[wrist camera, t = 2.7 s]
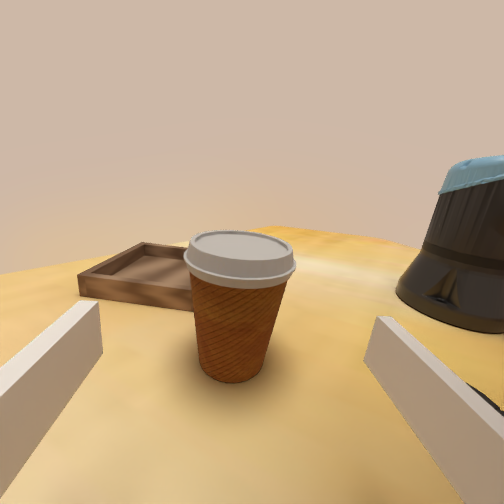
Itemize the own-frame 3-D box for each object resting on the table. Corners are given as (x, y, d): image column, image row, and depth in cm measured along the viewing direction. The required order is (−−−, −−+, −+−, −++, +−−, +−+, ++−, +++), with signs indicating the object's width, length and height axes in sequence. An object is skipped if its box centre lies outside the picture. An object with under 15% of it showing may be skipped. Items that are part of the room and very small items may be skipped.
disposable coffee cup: (165, 348, 25) (163, 233, 21) (239, 319, 31) (248, 226, 27) (218, 423, 18) (230, 272, 14) (299, 366, 24) (321, 251, 20)
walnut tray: (223, 267, 46) (224, 252, 46) (198, 312, 31) (199, 291, 30) (142, 256, 47) (141, 242, 46) (79, 295, 32) (77, 274, 31)
